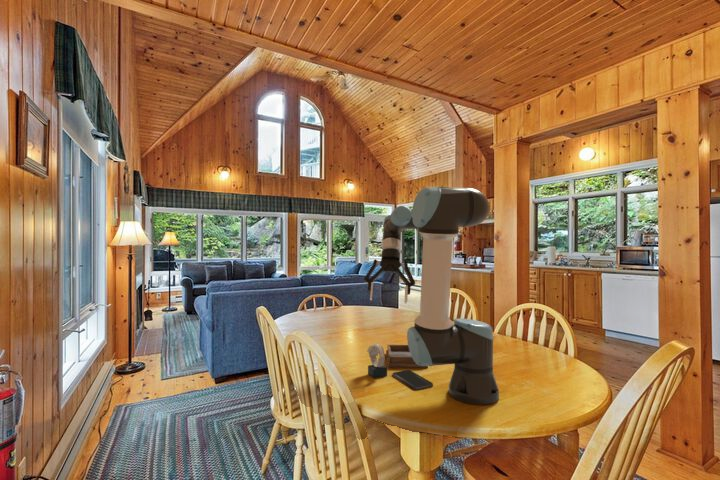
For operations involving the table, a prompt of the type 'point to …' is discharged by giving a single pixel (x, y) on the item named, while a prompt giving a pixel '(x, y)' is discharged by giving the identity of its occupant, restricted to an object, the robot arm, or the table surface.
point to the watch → (377, 367)
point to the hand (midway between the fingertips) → (388, 301)
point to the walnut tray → (400, 357)
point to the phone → (412, 380)
